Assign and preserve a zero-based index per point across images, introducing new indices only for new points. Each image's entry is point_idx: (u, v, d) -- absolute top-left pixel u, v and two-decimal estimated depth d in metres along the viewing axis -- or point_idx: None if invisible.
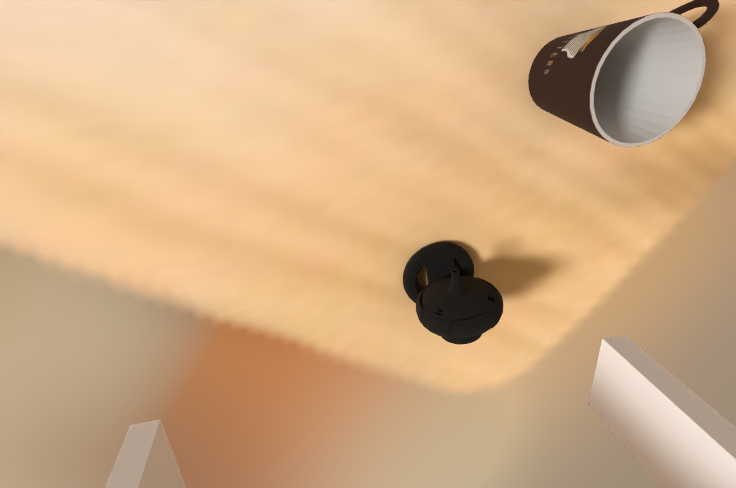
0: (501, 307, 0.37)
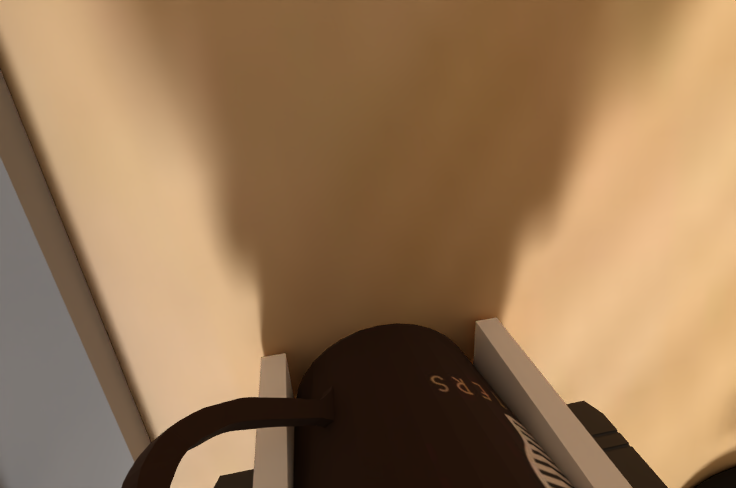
0: None
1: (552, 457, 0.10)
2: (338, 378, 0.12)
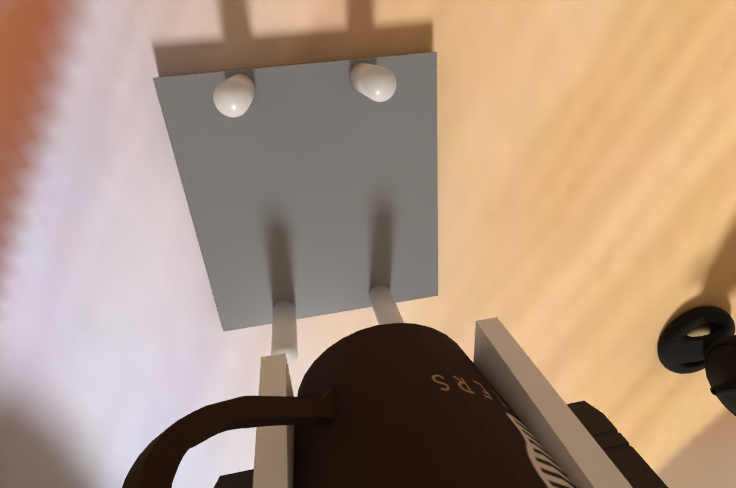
0: None
1: (553, 457, 0.10)
2: (339, 377, 0.12)
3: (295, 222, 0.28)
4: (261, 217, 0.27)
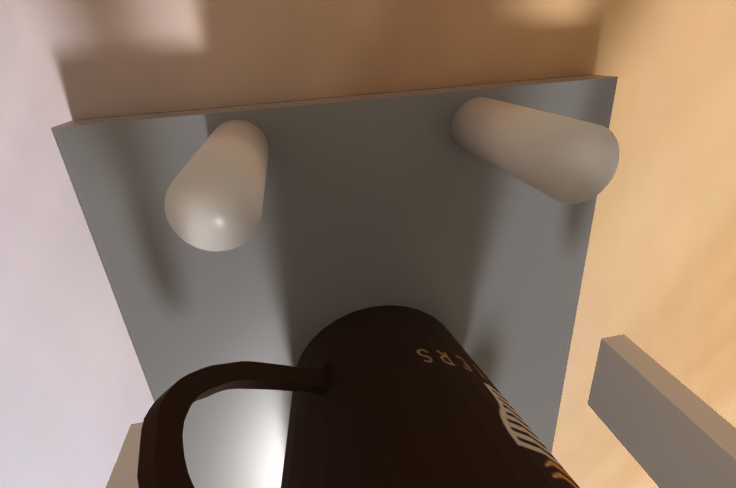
0: None
1: None
2: (332, 353, 0.13)
3: None
4: None
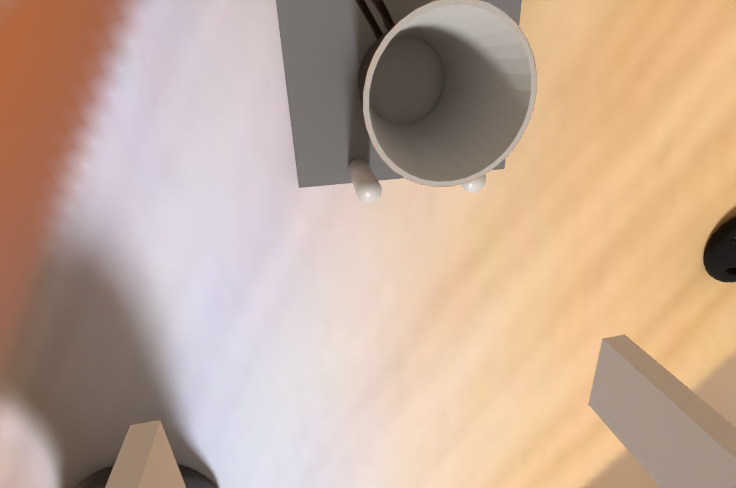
0: None
1: None
2: None
3: None
4: (348, 64, 0.28)
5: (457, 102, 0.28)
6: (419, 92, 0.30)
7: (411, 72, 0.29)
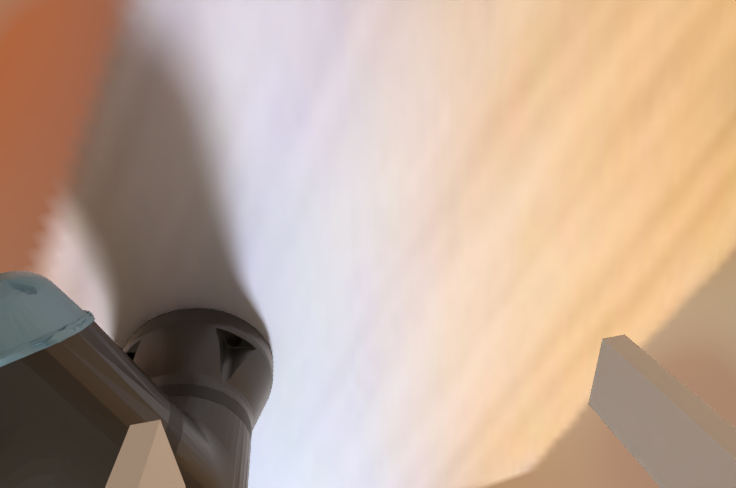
0: None
1: None
2: None
3: None
4: None
5: None
6: None
7: None
